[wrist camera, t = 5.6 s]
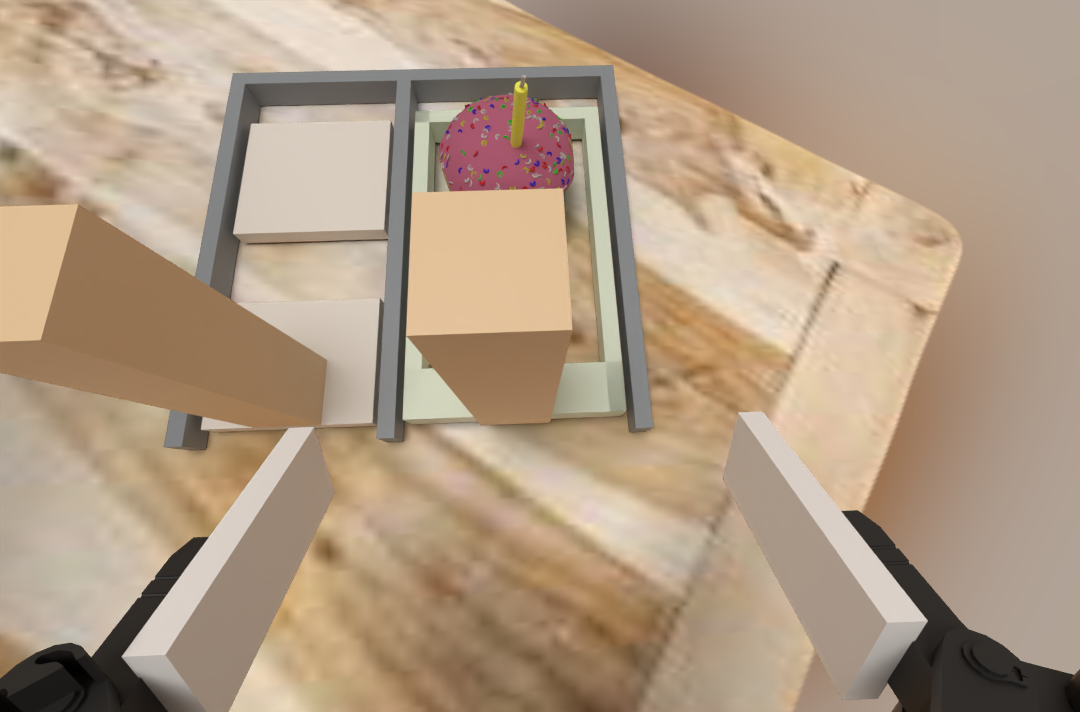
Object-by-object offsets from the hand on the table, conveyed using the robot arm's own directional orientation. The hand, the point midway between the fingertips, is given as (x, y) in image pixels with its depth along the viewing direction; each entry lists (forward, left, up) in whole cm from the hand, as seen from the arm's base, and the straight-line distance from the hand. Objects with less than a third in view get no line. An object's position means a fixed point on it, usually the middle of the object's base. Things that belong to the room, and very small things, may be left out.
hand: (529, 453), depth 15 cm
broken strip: (+8, +18, -14) cm, 24 cm away
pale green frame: (+13, +5, -14) cm, 19 cm away
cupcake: (+18, +7, -14) cm, 24 cm away
